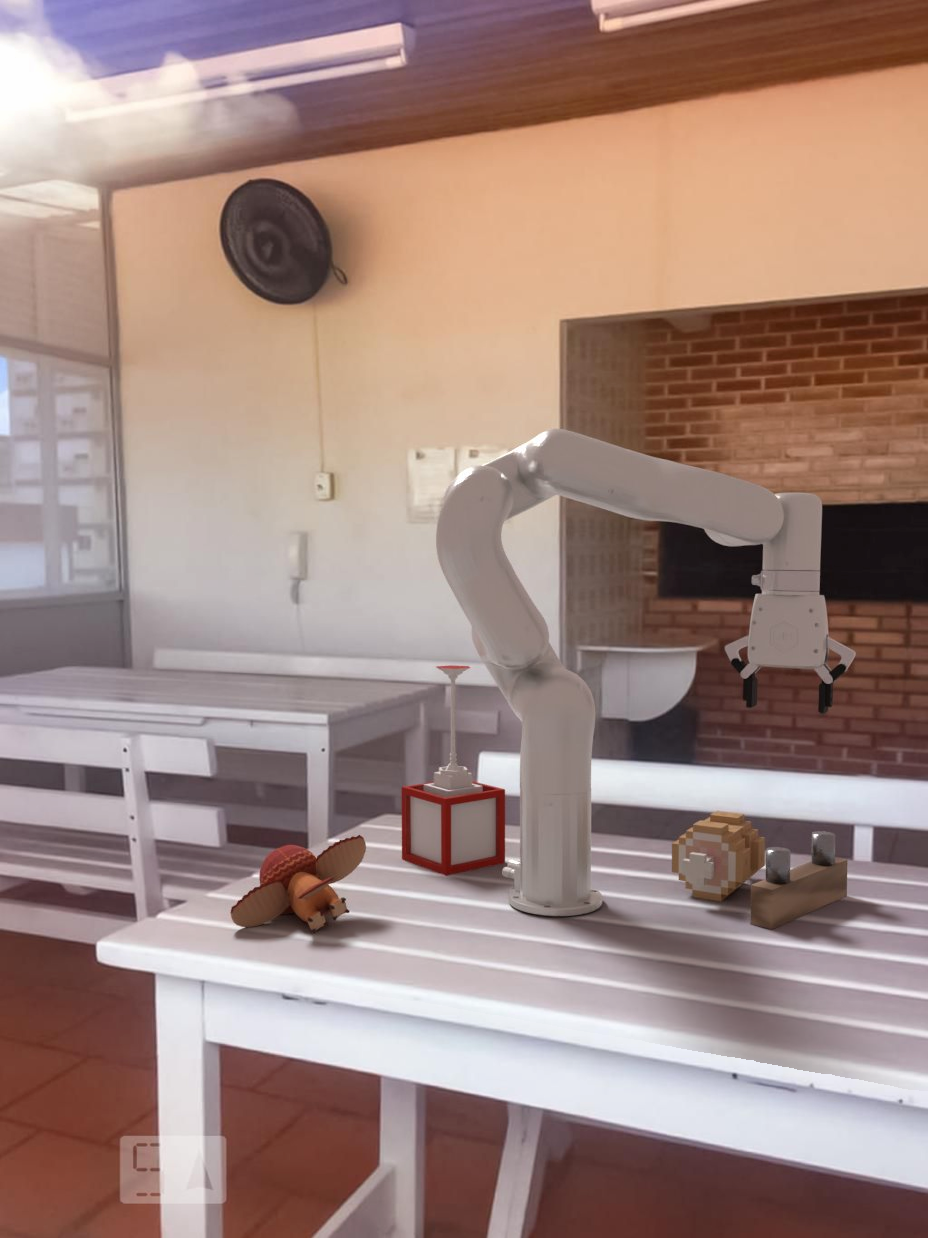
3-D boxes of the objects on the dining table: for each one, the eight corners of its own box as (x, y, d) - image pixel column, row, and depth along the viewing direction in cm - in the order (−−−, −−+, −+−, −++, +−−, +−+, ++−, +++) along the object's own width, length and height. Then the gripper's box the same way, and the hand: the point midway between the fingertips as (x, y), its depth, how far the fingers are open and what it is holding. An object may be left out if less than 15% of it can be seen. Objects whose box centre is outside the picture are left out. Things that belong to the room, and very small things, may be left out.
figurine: (402, 902, 141) (346, 852, 153) (387, 848, 137) (331, 802, 149) (268, 984, 132) (220, 924, 144) (248, 929, 128) (200, 872, 140)
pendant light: (460, 847, 175) (459, 662, 174) (505, 862, 166) (505, 667, 165) (401, 859, 168) (401, 666, 167) (445, 875, 159) (445, 672, 158)
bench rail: (750, 923, 137) (751, 853, 137) (826, 891, 151) (827, 827, 151) (771, 929, 135) (772, 858, 135) (846, 895, 149) (847, 830, 149)
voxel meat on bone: (772, 879, 157) (773, 811, 157) (733, 913, 142) (734, 837, 141) (705, 869, 162) (706, 803, 162) (660, 900, 147) (661, 827, 147)
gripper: (720, 583, 149) (716, 707, 149) (852, 585, 140) (848, 717, 141) (734, 583, 155) (731, 702, 156) (862, 585, 147) (857, 711, 147)
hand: (786, 709), depth 148 cm, fingers open, 9 cm apart
